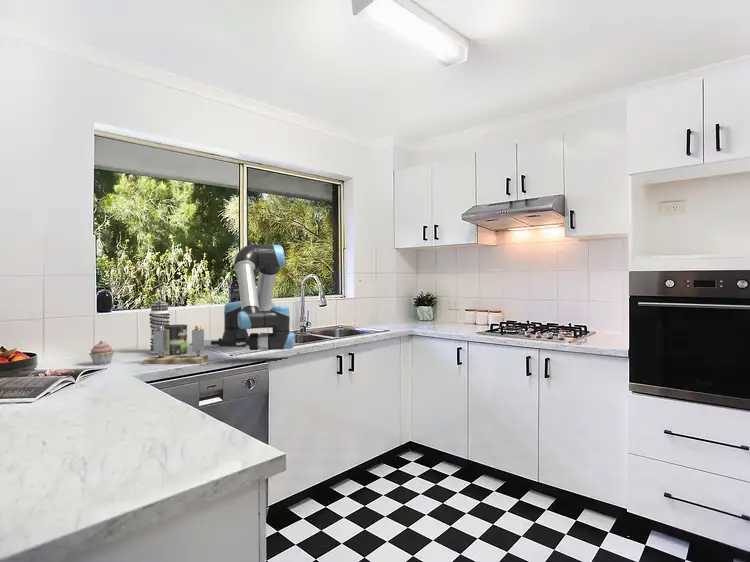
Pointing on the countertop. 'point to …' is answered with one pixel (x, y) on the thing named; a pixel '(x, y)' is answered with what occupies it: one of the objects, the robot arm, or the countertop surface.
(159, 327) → the fixed leg
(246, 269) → the robot arm
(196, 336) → the block
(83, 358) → the countertop surface
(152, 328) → the decorative candle
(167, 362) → the board
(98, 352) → the cupcake
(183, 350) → the coffee can
